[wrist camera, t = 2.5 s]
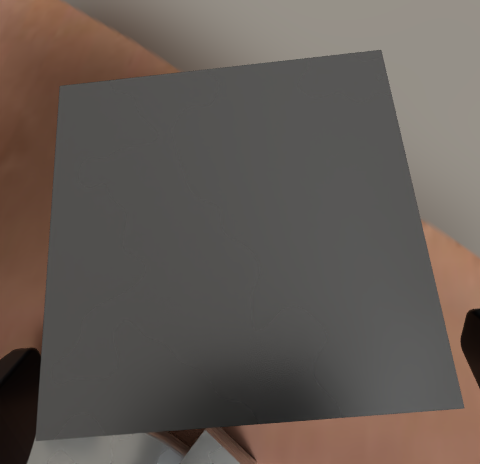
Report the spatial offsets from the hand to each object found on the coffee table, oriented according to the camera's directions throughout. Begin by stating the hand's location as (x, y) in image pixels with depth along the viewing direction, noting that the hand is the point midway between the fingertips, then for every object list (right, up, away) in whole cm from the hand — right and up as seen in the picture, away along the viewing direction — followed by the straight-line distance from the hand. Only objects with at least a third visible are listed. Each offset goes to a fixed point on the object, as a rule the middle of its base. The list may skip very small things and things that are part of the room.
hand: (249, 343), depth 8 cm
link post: (0, -1, +9) cm, 9 cm away
